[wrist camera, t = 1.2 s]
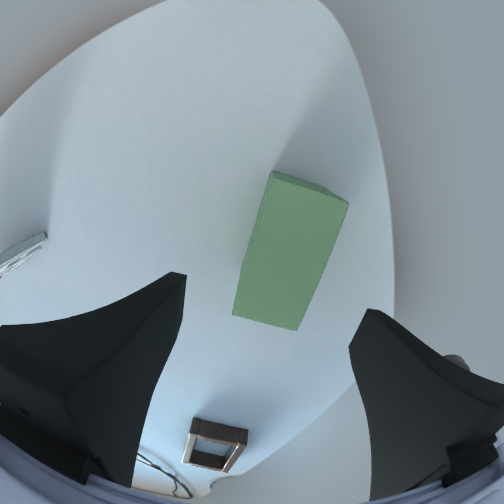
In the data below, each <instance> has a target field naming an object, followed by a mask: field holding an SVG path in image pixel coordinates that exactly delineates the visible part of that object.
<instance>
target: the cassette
mask: <svg viewBox="0 0 504 504" xmlns="http://www.w3.org/2000/svg"><path fill="white" fill-rule="evenodd" d="M46 240H47V238H46V236H45V233H44V232H42V233H40V234H38V235H36V236H35V235H34V236H32V237H30V238H29V239H27V240H25V241H23V242H21V243H19V244H17V245H13V246H11V247H10V248H8V249H6V250H4V251H2V252H1V253H0V278H1V277H2V276H3V275H4V276H5V275H7V274H8V273H10V272H12V271H13V270H14V269H15V268H17V267H18V266H19V265H20V264H21V263H23V262H24V261H25V260H26V259H28V258H29V257H30V256H32V255H33V254H34V253H35V252H37V251H38V250H39V249H41V247H40V245H41V244H42V243H43V242H44V241H46Z"/></svg>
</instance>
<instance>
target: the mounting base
mask: <svg viewBox="0 0 504 504" xmlns="http://www.w3.org/2000/svg"><path fill="white" fill-rule="evenodd" d="M196 438H199V439H203V440H207V441H211V442H215V443H220V444H225V445H230V448H229V450H228V451H227V453H226V455H225V456H224V457H222V456H217V455H213V454H208V453H204V452H200V451H196V450H193V448H194V445H195V442H196ZM247 438H248V430H246V429H240V428H235V427H230V426H226V425H221V424H217V423H213V422H209V421H205V420H201V419H197V418H193V420H192V424H191V428H190V432H189V436H188V439H187V443H186V447H185V451H184V455H183V459H182V463H186V464H189V465H193V466H197V467H202V468H206V469H211V470H216V471H221V472H226V473H228V471H229V470H230V469H231V467H232V466H233V464H234V463H235V462H236V460H237V459H238V457H239V456H240V455H241V453H242V452H243V450H244V449H245V447H246V446H247Z"/></svg>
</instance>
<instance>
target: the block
mask: <svg viewBox="0 0 504 504" xmlns="http://www.w3.org/2000/svg"><path fill="white" fill-rule="evenodd" d="M348 206H349V203H348V202H347V201H345V200H344V199H342V198H340V197H339V196H337V195H336V194H334V193H332V192H331V191H329V190H327V189H326V188H324V187H321V186H318V185H315V184H312V183H309V182H306V181H303V180H300V179H297V178H294V177H291V176H288V175H284V174H281V173H278V172H275V171H271V173H270V177H269V180H268V183H267V187H266V190H265V193H264V196H263V200H262V203H261V206H260V210H259V213H258V216H257V219H256V223H255V226H254V229H253V233H252V236H251V239H250V243H249V246H248V249H247V252H246V256H245V259H244V262H243V266H242V269H241V273H240V277H239V282H238V287H237V292H236V296H235V301H234V306H233V311H232V315H234V316H238V317H242V318H246V319H249V320H253V321H257V322H261V323H265V324H269V325H273V326H277V327H281V328H285V329H289V330H294V331H297V329H298V327H299V325H300V323H301V321H302V319H303V316H304V314H305V312H306V310H307V308H308V305H309V303H310V301H311V299H312V296H313V294H314V292H315V289H316V287H317V285H318V282H319V280H320V278H321V275H322V273H323V271H324V268H325V266H326V263H327V261H328V258H329V256H330V253H331V251H332V248H333V246H334V243H335V241H336V238H337V235H338V233H339V230H340V228H341V225H342V222H343V220H344V217H345V214H346V211H347V209H348Z"/></svg>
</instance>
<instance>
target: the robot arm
mask: <svg viewBox="0 0 504 504" xmlns="http://www.w3.org/2000/svg"><path fill="white" fill-rule="evenodd" d="M186 279H187V275H184V274H180V273H175V272H170V273H168V274H166V275H164V276H163V277H161V278H159V279H158V280H156V281H154V282H153V283H151V284H149V285H147V286H146V287H144V288H142V289H140V290H139V291H137V292H135V293H133V294H131V295H129V296H127V297H125V298H123V299H121V300H119V301H116V302H114V303H112V304H109V305H107V306H104V307H102V308H99V309H96V310H93V311H90V312H87V313H83V314H80V315H76V316H72V317H69V318H65V319H60V320H55V321H49V322H42V323H34V324H19V325H2V326H1V327H0V404H1V405H0V504H188V503H182V502H178V501H173V500H169V499H165V498H161V497H157V496H153V495H150V494H146V493H143V492H140V491H136V490H133V489H130V488H131V485H132V478H133V473H134V467H135V462H136V457H137V452H138V447H139V443H140V439H141V434H142V430H143V427H144V423H145V419H146V415H147V412H148V408H149V405H150V401H151V398H152V395H153V392H154V389H155V386H156V384H157V382H158V379H159V377H160V375H161V373H162V370H163V368H164V366H165V364H166V361H167V359H168V357H169V355H170V353H171V350H172V348H173V346H174V344H175V341H176V339H177V335H178V332H179V329H180V326H181V322H182V318H183V307H184V297H185V288H186ZM349 353H350V359H351V365H352V369H353V372H354V376H355V379H356V382H357V385H358V388H359V391H360V395H361V397H362V401H363V404H364V408H365V411H366V416H367V420H368V427H369V434H370V444H371V461H372V462H371V464H372V475H371V490H370V499H369V502H365V503H361V504H504V443H503V441H502V439H501V437H500V435H499V434H498V431H499V429H501V428H502V427H503V426H504V384H500V383H497V382H494V381H491V380H488V379H486V378H483V377H481V376H478V375H476V374H474V373H472V372H470V371H468V370H466V369H464V368H462V367H460V366H458V365H456V364H454V363H453V362H451V361H450V360H448V359H446V358H445V357H443V356H441V355H440V354H439V353H437V352H436V351H434V350H433V349H431V348H430V347H429V346H427V345H426V344H424V343H423V342H422V341H421V340H419V339H418V338H417V337H416V336H414V335H413V334H412V333H410V332H409V331H408V330H407V329H405V328H404V327H403V326H401V325H400V324H399V323H398V322H396V321H395V320H394V319H392V318H391V317H390V316H388V315H387V314H385V313H383V312H382V311H380V310H374V309H367V310H366V313H365V315H364V317H363V319H362V321H361V323H360V325H359V327H358V329H357V331H356V333H355V335H354V337H353V339H352V341H351V343H350V345H349Z"/></svg>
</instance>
